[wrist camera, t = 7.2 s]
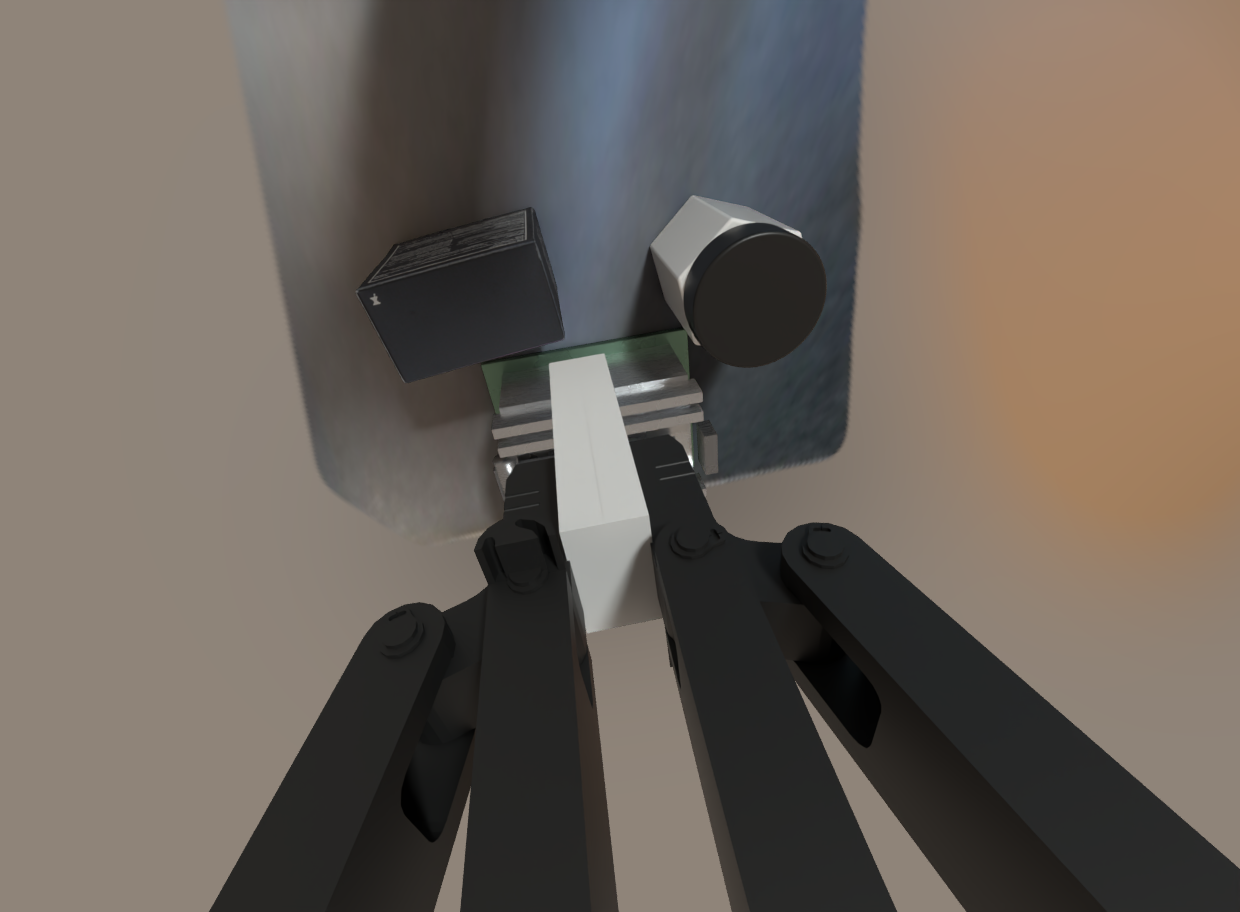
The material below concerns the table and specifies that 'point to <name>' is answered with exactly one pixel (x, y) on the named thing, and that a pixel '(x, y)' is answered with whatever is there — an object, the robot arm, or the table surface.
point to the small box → (464, 296)
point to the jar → (739, 281)
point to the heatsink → (643, 385)
